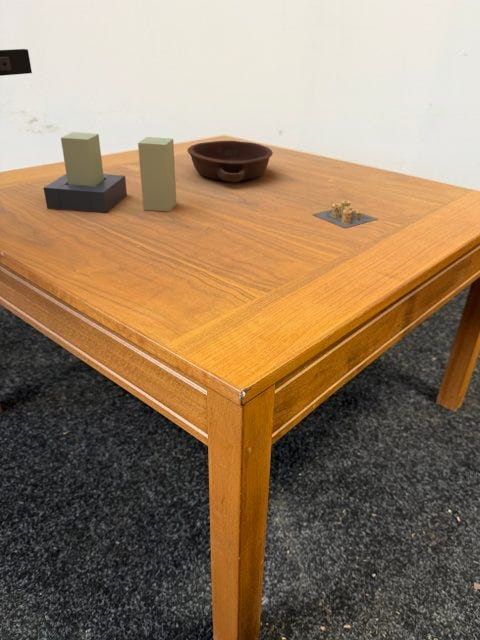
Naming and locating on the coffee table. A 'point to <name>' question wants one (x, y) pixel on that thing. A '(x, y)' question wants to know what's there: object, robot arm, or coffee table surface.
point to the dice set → (344, 215)
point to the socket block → (86, 194)
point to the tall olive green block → (82, 159)
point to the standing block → (157, 173)
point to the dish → (230, 159)
